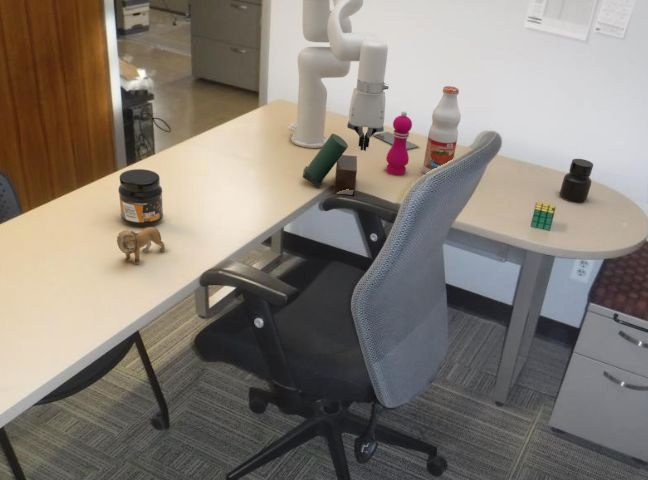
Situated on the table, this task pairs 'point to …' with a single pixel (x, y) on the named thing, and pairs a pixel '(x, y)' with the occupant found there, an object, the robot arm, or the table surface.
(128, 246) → the lion figurine
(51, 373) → the table surface
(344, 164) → the walnut block
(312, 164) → the green tube
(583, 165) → the ink bottle
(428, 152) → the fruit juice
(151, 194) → the supplement container
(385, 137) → the smartphone
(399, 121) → the pepper mill
